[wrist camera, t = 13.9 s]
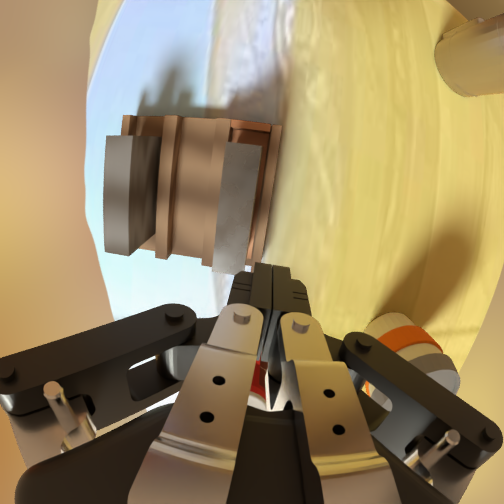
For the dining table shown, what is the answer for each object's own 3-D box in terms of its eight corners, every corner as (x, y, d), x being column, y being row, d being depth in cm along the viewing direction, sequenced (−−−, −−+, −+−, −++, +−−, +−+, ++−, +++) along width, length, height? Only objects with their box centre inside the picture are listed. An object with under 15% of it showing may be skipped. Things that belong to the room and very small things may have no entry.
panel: (236, 143, 30) (226, 141, 23) (263, 146, 30) (261, 146, 23) (224, 243, 34) (211, 271, 27) (248, 247, 34) (243, 276, 27)
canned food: (208, 353, 43) (195, 405, 33) (246, 329, 41) (239, 383, 31) (241, 380, 45) (235, 431, 35) (278, 359, 43) (279, 412, 32)
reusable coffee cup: (385, 288, 37) (430, 355, 23) (433, 320, 39) (475, 379, 25) (334, 349, 42) (353, 425, 28) (385, 372, 43) (411, 437, 29)
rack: (135, 117, 31) (95, 111, 22) (280, 128, 31) (285, 120, 22) (129, 242, 37) (94, 270, 28) (259, 262, 37) (257, 299, 28)
